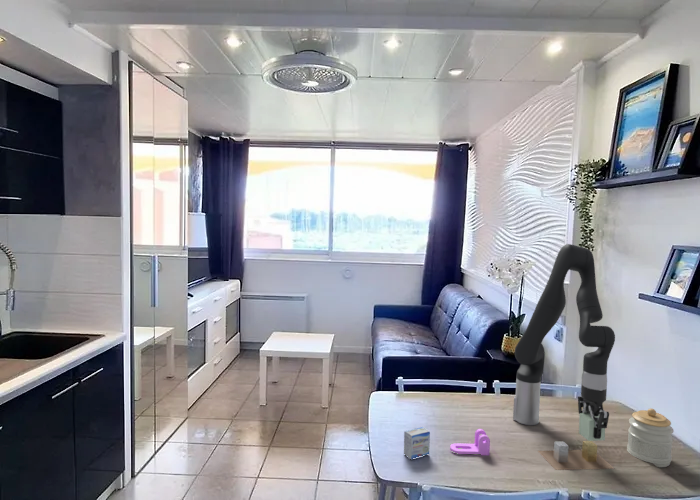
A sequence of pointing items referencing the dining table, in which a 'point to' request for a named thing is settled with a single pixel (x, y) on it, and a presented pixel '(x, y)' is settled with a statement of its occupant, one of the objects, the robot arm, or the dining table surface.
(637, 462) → the dining table surface
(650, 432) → the jar
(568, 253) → the robot arm
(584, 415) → the sage cap
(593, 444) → the brass post
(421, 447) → the medicine box
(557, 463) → the walnut board
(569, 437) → the dining table surface
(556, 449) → the steel post
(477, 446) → the bracket
